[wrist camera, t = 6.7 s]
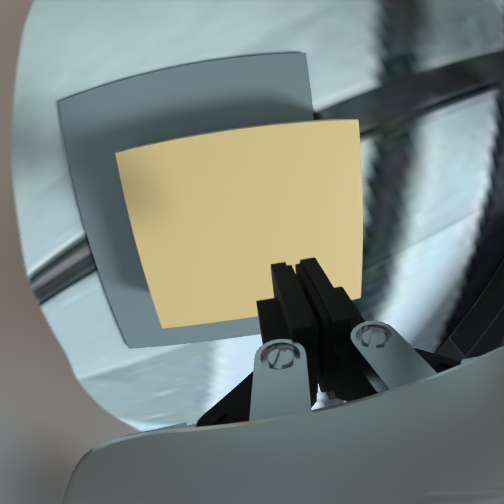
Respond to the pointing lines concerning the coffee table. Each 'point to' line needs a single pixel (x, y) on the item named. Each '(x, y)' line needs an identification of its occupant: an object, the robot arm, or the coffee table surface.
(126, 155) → the pale yellow block
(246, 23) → the coffee table surface
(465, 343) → the cash box
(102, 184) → the mat
